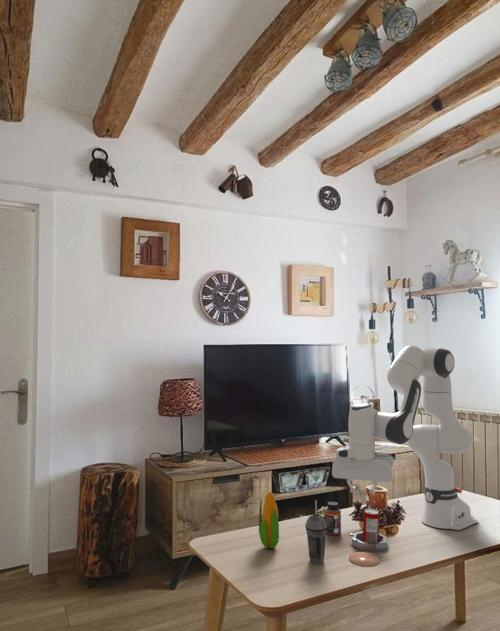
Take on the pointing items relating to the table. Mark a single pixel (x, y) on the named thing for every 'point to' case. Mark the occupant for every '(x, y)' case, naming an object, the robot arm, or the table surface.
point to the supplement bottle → (333, 519)
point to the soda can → (371, 526)
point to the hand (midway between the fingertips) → (362, 493)
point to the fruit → (322, 511)
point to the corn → (269, 522)
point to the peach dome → (364, 559)
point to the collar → (368, 546)
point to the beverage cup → (316, 537)
